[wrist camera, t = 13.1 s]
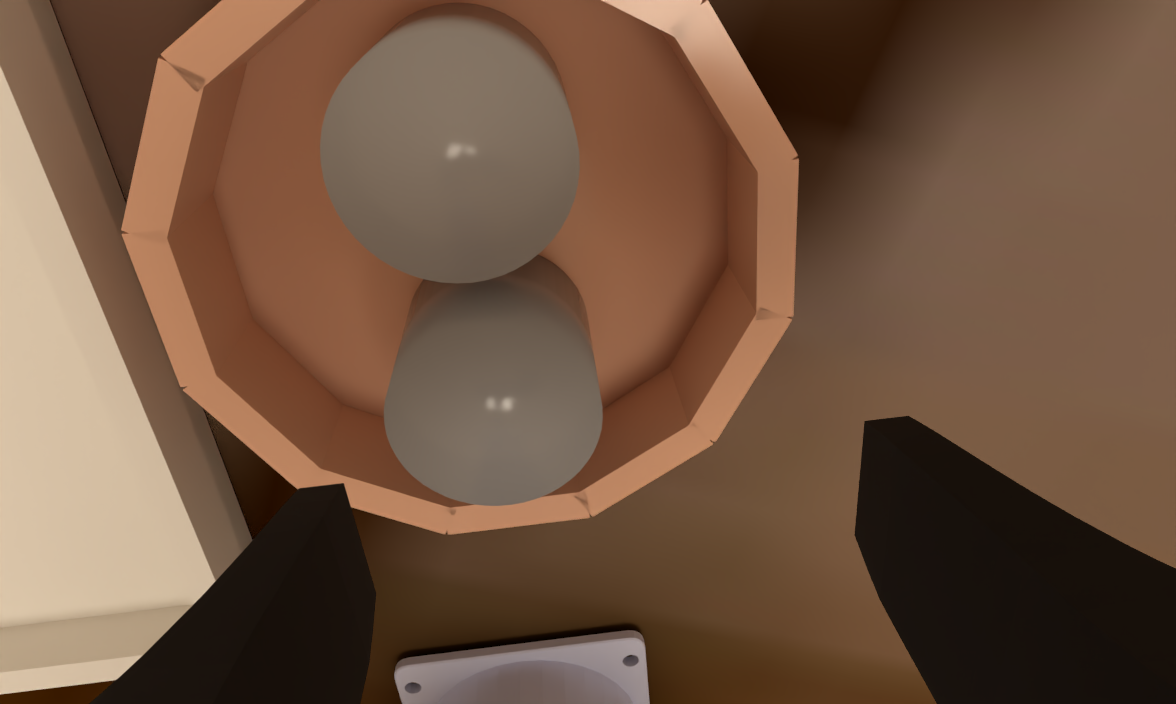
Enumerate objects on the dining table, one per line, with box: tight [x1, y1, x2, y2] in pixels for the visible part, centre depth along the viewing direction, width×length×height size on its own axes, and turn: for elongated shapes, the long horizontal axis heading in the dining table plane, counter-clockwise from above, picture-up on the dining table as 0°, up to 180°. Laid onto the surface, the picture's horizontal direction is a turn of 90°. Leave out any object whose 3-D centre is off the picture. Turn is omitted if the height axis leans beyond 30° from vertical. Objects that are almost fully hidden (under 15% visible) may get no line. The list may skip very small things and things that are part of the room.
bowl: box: [121, 0, 799, 535], centre depth 18 cm, size 13×13×4 cm
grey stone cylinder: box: [384, 255, 603, 506], centre depth 18 cm, size 4×4×4 cm
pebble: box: [320, 3, 580, 283], centre depth 16 cm, size 4×4×4 cm
